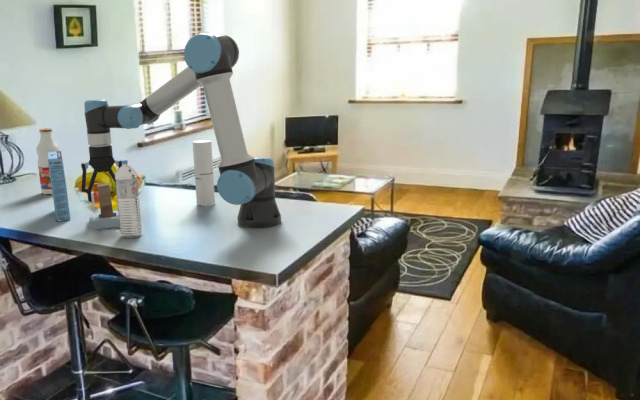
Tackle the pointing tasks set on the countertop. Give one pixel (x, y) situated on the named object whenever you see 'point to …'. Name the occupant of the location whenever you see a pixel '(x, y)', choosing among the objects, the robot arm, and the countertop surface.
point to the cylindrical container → (203, 172)
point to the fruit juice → (45, 158)
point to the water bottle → (128, 201)
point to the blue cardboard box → (58, 185)
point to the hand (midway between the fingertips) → (106, 209)
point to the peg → (105, 200)
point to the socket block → (103, 221)
